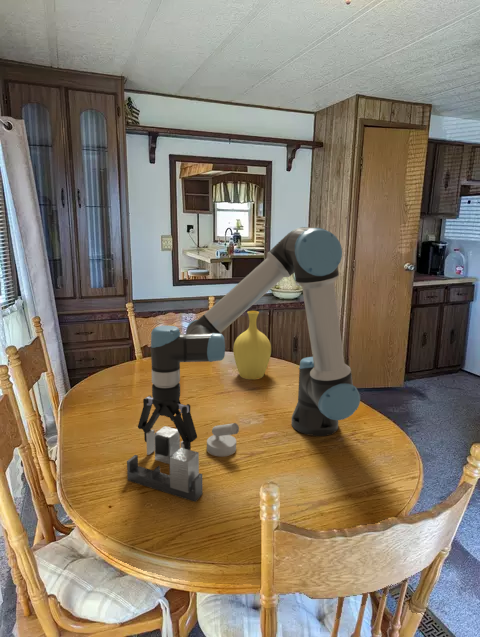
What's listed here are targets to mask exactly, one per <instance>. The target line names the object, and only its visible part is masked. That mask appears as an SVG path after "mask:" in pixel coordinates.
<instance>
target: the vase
mask: <svg viewBox="0 0 480 637" xmlns="http://www.w3.org/2000/svg"><path fill="white" fill-rule="evenodd" d="M259 314H260V312H259V311H257V310H247V315H248V316H247V317H248V318H249V325H248V328H247V329H246V330H245V331H243V332H242V333H241V334H239V335H238V336H237V337H236V339H235V340H234V343H233V347H232V348H233V349H232V350H233V358H234V361H235V365H236V369H237V372H238V374H239V376H240V377H241V378H243V379H246V380H260V379H262V378H263V377H264V376H265V373H266V371H267V368H268V365H269V362H270V359H271V354H272V343H271V341H270V340H269V338H268V337H267V335H265V333H264V332H262V331H260V330H259V329H258V327H257V318H258V316H259Z"/></svg>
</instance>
